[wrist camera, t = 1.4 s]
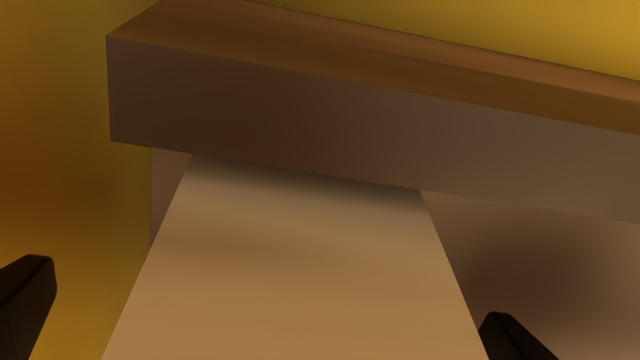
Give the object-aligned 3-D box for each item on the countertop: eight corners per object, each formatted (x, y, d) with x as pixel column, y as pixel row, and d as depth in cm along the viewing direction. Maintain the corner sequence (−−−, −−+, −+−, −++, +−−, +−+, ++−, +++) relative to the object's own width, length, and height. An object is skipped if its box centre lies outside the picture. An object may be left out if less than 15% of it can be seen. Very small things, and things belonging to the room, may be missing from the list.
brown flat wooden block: (768, 420, 18) (874, 538, 15) (166, 361, 15) (126, 494, 12) (1080, 171, 12) (1384, 274, 9) (180, -13, 9) (105, 35, 6)
